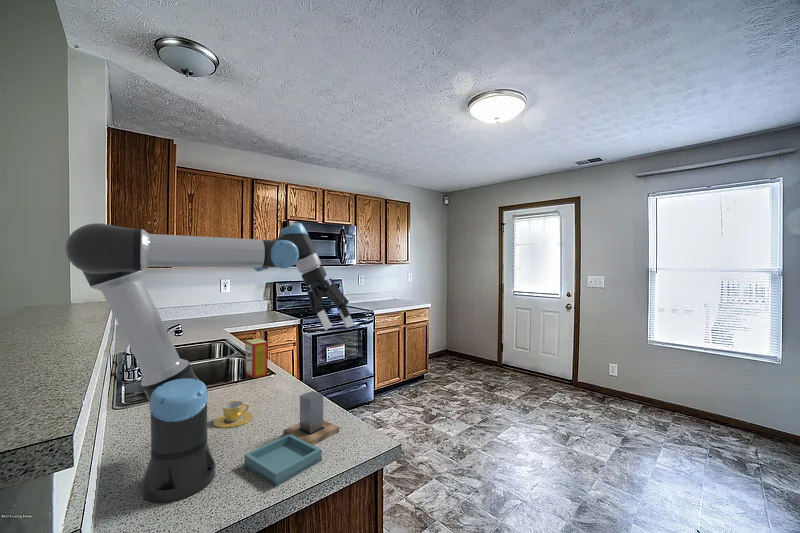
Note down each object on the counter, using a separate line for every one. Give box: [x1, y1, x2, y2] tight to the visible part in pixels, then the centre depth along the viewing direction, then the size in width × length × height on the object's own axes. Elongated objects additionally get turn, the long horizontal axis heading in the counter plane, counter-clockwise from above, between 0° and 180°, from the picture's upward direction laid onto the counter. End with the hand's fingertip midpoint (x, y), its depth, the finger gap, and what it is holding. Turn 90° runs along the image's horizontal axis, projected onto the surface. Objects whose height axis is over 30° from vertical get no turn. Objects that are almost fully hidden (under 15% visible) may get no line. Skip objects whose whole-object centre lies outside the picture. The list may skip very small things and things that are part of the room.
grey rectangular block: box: [299, 390, 324, 435], centre depth 111 cm, size 5×5×12 cm
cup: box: [212, 400, 254, 429], centre depth 120 cm, size 12×12×5 cm
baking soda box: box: [244, 337, 268, 379], centre depth 165 cm, size 10×6×16 cm
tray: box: [243, 434, 323, 488], centre depth 95 cm, size 14×14×3 cm
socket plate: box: [282, 419, 340, 446], centre depth 111 cm, size 12×12×2 cm
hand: (338, 327), depth 119 cm, fingers open, 13 cm apart
